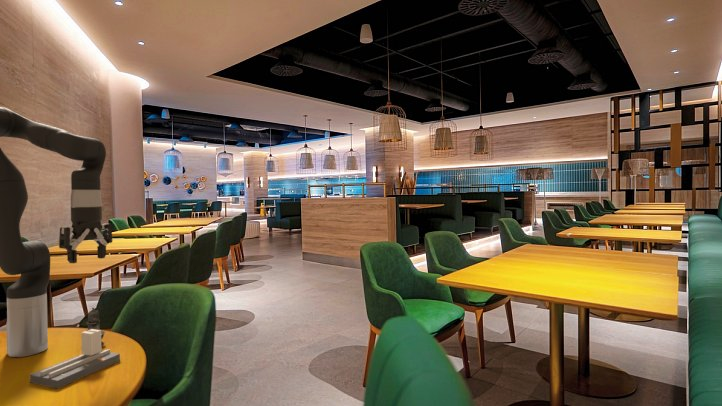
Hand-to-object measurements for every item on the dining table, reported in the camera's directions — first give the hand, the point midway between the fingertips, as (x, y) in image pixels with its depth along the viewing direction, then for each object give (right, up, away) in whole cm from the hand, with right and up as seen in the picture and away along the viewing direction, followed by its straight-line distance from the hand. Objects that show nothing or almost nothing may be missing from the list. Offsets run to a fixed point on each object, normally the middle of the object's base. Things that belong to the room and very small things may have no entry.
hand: (87, 260), depth 116 cm
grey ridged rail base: (+4, -28, -10) cm, 30 cm away
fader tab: (+5, -26, -6) cm, 27 cm away
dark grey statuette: (-4, -28, +8) cm, 30 cm away
